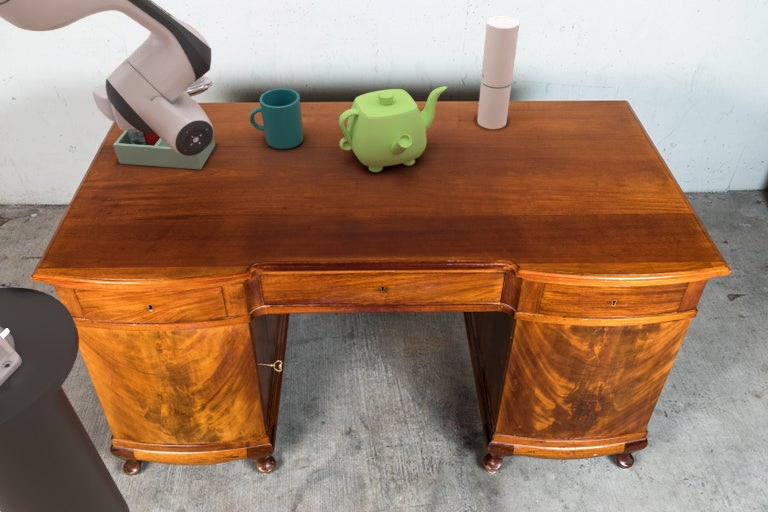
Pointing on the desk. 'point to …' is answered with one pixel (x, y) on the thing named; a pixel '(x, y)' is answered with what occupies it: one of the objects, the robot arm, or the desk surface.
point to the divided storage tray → (158, 154)
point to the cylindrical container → (497, 71)
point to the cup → (280, 118)
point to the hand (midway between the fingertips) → (138, 73)
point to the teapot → (387, 127)
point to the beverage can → (142, 137)
